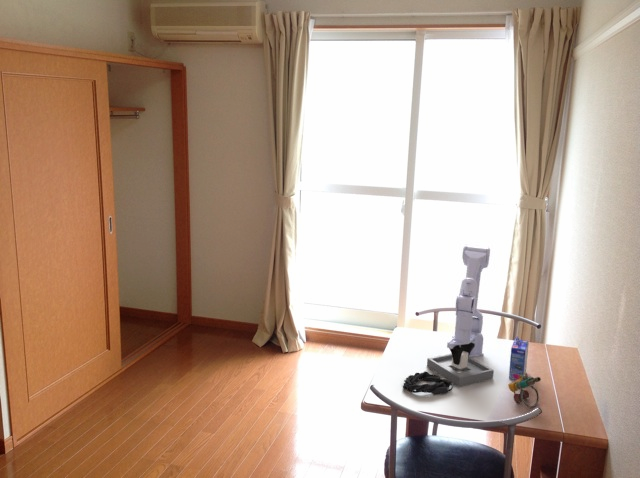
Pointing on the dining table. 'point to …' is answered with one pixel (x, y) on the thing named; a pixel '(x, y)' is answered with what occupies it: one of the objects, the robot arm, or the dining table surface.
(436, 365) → the walled box
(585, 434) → the dining table surface
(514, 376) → the ink cartridge box
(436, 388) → the cable
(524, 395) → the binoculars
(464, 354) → the white rectangular block
